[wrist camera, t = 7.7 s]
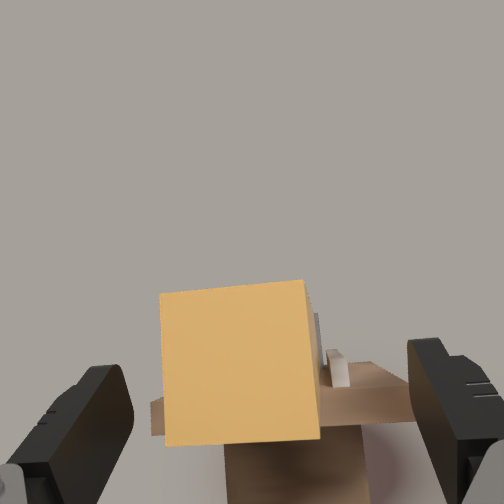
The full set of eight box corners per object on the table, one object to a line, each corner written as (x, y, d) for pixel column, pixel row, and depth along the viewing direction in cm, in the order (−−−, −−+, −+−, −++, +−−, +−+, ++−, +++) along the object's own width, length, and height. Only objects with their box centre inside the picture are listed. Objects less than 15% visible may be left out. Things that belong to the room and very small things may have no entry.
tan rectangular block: (154, 447, 11) (149, 294, 12) (264, 371, 34) (259, 319, 34) (332, 438, 11) (314, 278, 11) (323, 366, 33) (317, 314, 34)
